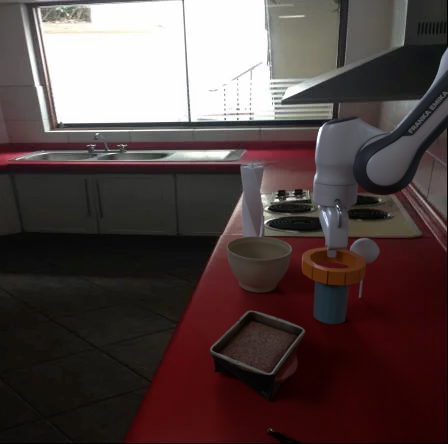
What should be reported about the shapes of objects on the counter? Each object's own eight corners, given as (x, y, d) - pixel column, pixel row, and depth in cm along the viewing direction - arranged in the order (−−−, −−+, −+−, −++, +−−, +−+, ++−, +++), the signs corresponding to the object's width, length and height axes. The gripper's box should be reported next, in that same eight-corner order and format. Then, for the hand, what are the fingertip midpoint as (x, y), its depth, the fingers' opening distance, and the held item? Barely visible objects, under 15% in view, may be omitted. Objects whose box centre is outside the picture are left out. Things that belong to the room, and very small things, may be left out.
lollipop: (375, 294, 101) (382, 236, 97) (373, 305, 96) (379, 245, 92) (347, 289, 104) (352, 233, 100) (344, 300, 100) (349, 241, 95)
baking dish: (312, 374, 78) (315, 323, 77) (266, 417, 65) (268, 357, 64) (245, 351, 88) (246, 306, 86) (193, 385, 75) (193, 332, 73)
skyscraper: (266, 247, 134) (268, 160, 125) (240, 247, 135) (240, 161, 127) (264, 238, 142) (265, 156, 133) (240, 238, 143) (240, 157, 135)
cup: (343, 309, 96) (346, 269, 92) (348, 325, 89) (351, 283, 86) (311, 307, 97) (314, 268, 94) (314, 322, 91) (317, 281, 88)
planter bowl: (284, 304, 99) (286, 262, 96) (219, 294, 106) (218, 254, 103) (294, 276, 113) (296, 239, 110) (236, 269, 120) (236, 233, 116)
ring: (358, 261, 94) (359, 248, 93) (369, 287, 83) (371, 273, 82) (300, 258, 97) (301, 246, 96) (303, 283, 86) (304, 269, 85)
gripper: (359, 207, 80) (353, 273, 84) (343, 183, 98) (339, 238, 103) (324, 207, 81) (319, 271, 86) (315, 183, 100) (312, 237, 104)
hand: (330, 253), depth 94 cm, fingers closed on ring, 2 cm apart
